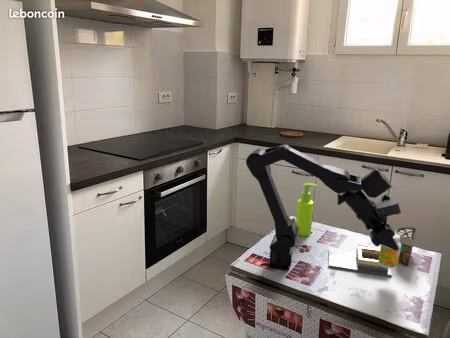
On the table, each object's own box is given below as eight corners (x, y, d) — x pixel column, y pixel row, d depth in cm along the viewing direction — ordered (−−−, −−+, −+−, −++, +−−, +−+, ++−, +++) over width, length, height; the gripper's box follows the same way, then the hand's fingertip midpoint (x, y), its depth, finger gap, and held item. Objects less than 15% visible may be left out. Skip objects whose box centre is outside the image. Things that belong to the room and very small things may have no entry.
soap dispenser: (314, 236, 143) (319, 186, 137) (296, 236, 143) (300, 186, 138) (311, 229, 149) (316, 181, 143) (294, 229, 149) (297, 181, 143)
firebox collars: (328, 267, 122) (329, 256, 121) (329, 249, 133) (330, 240, 132) (391, 277, 118) (393, 266, 116) (386, 258, 129) (388, 248, 128)
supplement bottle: (374, 263, 114) (379, 234, 111) (382, 257, 117) (388, 229, 114) (392, 271, 110) (398, 241, 107) (400, 264, 114) (406, 235, 111)
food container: (393, 247, 136) (397, 222, 133) (411, 252, 133) (416, 226, 130) (387, 263, 126) (391, 235, 123) (407, 268, 123) (412, 240, 120)
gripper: (392, 201, 99) (429, 244, 100) (379, 179, 116) (411, 216, 118) (356, 225, 103) (393, 266, 104) (349, 200, 120) (380, 236, 121)
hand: (395, 244), depth 112 cm, fingers closed on supplement bottle, 5 cm apart
